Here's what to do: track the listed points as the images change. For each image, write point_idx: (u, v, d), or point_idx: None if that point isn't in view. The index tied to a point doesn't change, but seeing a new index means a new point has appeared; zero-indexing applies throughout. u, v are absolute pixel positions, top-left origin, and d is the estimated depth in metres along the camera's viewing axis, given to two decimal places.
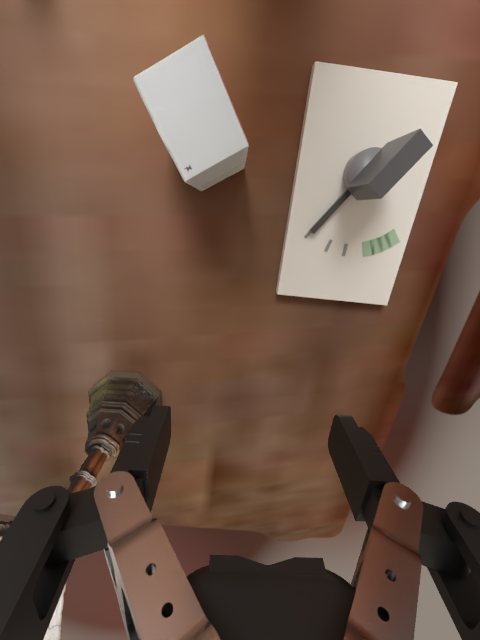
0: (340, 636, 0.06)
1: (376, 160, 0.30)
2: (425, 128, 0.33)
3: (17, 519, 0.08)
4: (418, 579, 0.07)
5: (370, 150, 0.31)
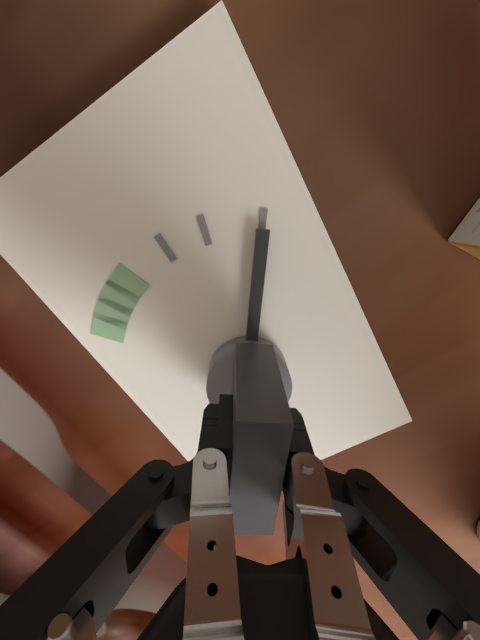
0: None
1: None
2: None
3: (136, 476, 0.10)
4: (345, 536, 0.08)
5: None
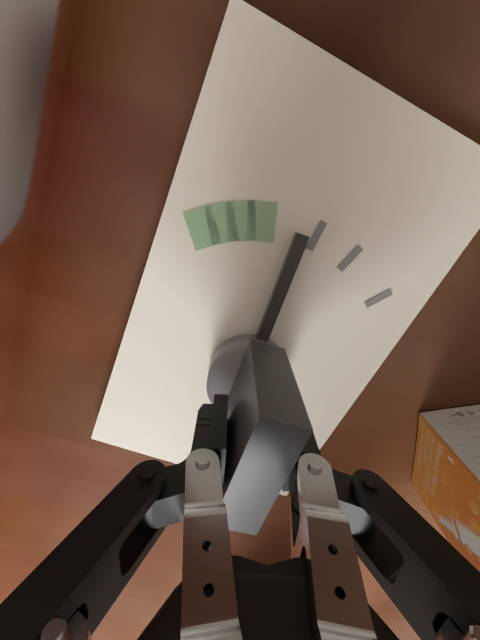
0: None
1: None
2: (135, 400, 0.19)
3: (127, 477, 0.09)
4: (351, 538, 0.08)
5: None
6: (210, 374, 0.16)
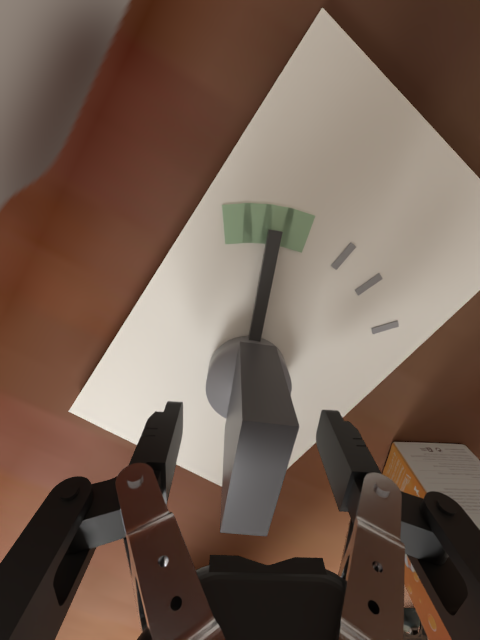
0: None
1: None
2: (126, 380, 0.19)
3: (44, 505, 0.08)
4: (403, 567, 0.07)
5: None
6: (207, 381, 0.16)
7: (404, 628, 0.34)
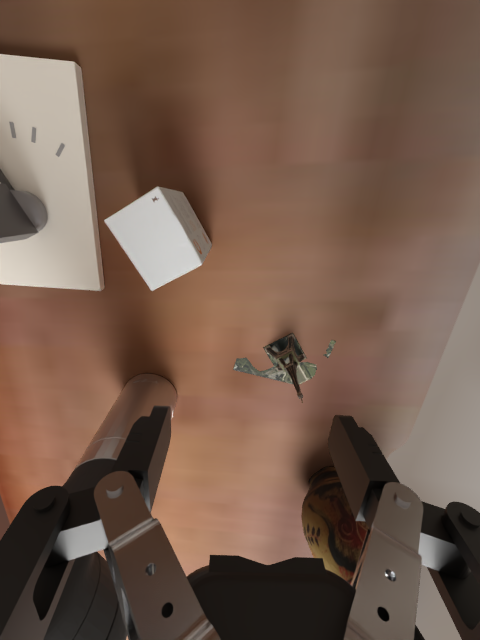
0: (340, 636, 0.06)
1: (12, 211, 0.32)
2: None
3: (17, 519, 0.08)
4: (418, 579, 0.07)
5: (34, 216, 0.34)
6: None
7: None
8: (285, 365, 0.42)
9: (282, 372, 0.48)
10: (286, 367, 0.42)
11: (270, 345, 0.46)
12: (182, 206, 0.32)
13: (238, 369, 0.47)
